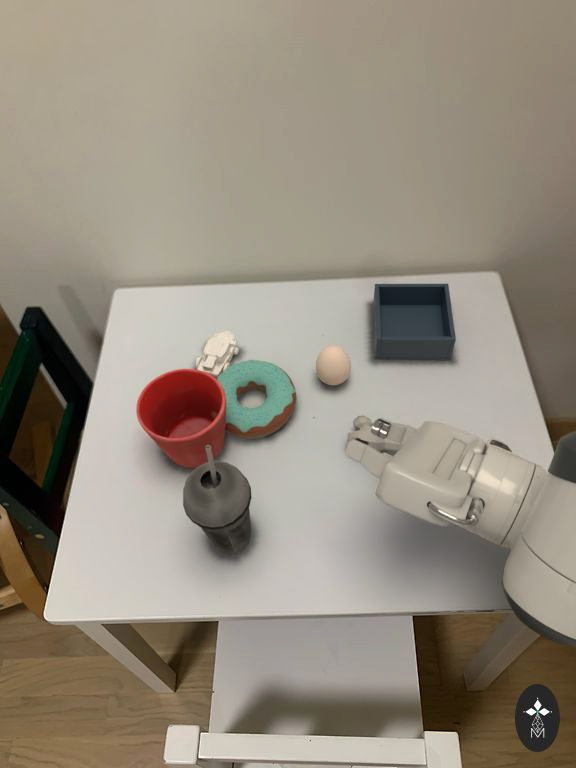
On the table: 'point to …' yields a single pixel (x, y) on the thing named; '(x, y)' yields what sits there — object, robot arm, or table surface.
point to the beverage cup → (219, 504)
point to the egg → (333, 365)
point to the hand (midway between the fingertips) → (362, 434)
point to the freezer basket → (413, 322)
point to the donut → (265, 415)
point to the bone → (372, 436)
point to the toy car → (217, 354)
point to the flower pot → (184, 415)
